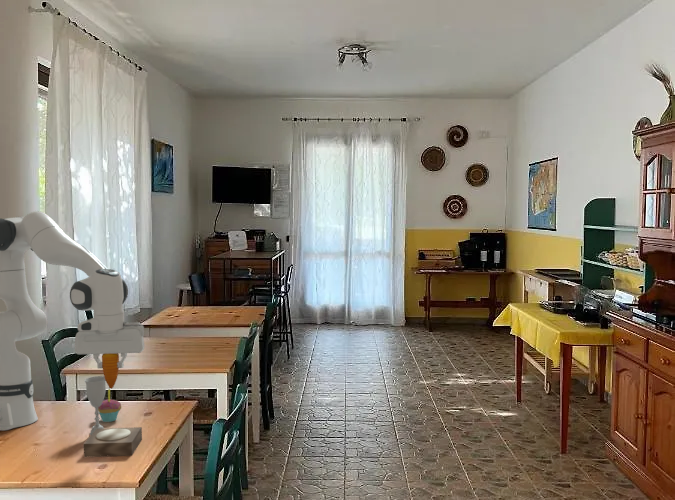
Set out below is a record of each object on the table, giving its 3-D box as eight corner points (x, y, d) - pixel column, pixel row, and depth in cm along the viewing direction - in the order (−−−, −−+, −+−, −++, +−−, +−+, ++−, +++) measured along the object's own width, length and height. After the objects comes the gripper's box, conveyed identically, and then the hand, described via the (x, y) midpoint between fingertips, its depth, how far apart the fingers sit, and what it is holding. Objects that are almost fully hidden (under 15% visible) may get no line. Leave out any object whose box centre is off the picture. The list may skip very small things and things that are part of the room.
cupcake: (124, 420, 240) (123, 386, 240) (99, 425, 236) (98, 390, 235) (117, 414, 247) (116, 381, 247) (93, 419, 243) (91, 385, 242)
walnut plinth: (83, 457, 206) (83, 442, 206) (97, 441, 220) (96, 427, 219) (131, 455, 207) (131, 440, 206) (142, 439, 221) (141, 425, 220)
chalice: (101, 437, 223) (99, 382, 222) (82, 436, 225) (79, 381, 224) (112, 430, 230) (111, 376, 229) (94, 429, 232) (92, 375, 231)
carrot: (103, 391, 209) (102, 342, 208) (101, 387, 213) (100, 339, 212) (121, 389, 211) (119, 340, 210) (118, 385, 215) (117, 337, 214)
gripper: (146, 320, 214) (147, 364, 215) (78, 321, 213) (80, 366, 214) (141, 323, 208) (143, 369, 209) (71, 325, 207) (73, 371, 208)
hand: (110, 367), depth 212 cm, fingers closed on carrot, 4 cm apart
